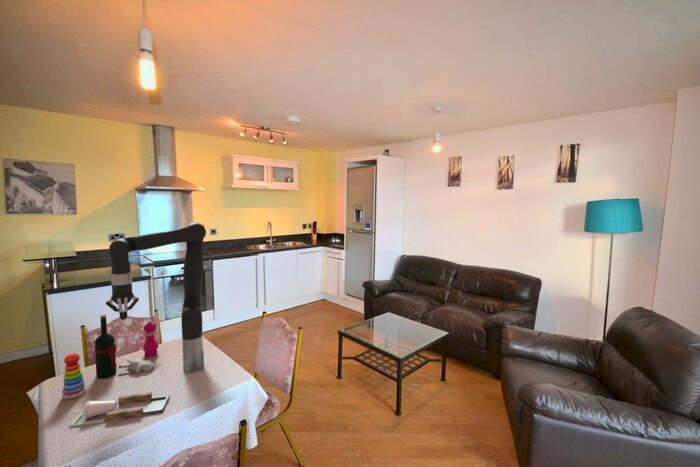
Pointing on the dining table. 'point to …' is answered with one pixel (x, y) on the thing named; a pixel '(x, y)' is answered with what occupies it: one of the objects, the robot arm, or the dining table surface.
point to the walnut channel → (130, 412)
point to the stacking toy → (73, 378)
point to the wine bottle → (105, 352)
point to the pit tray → (156, 405)
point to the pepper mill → (150, 340)
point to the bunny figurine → (138, 365)
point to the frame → (84, 422)
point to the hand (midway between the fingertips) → (123, 319)
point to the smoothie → (97, 408)
